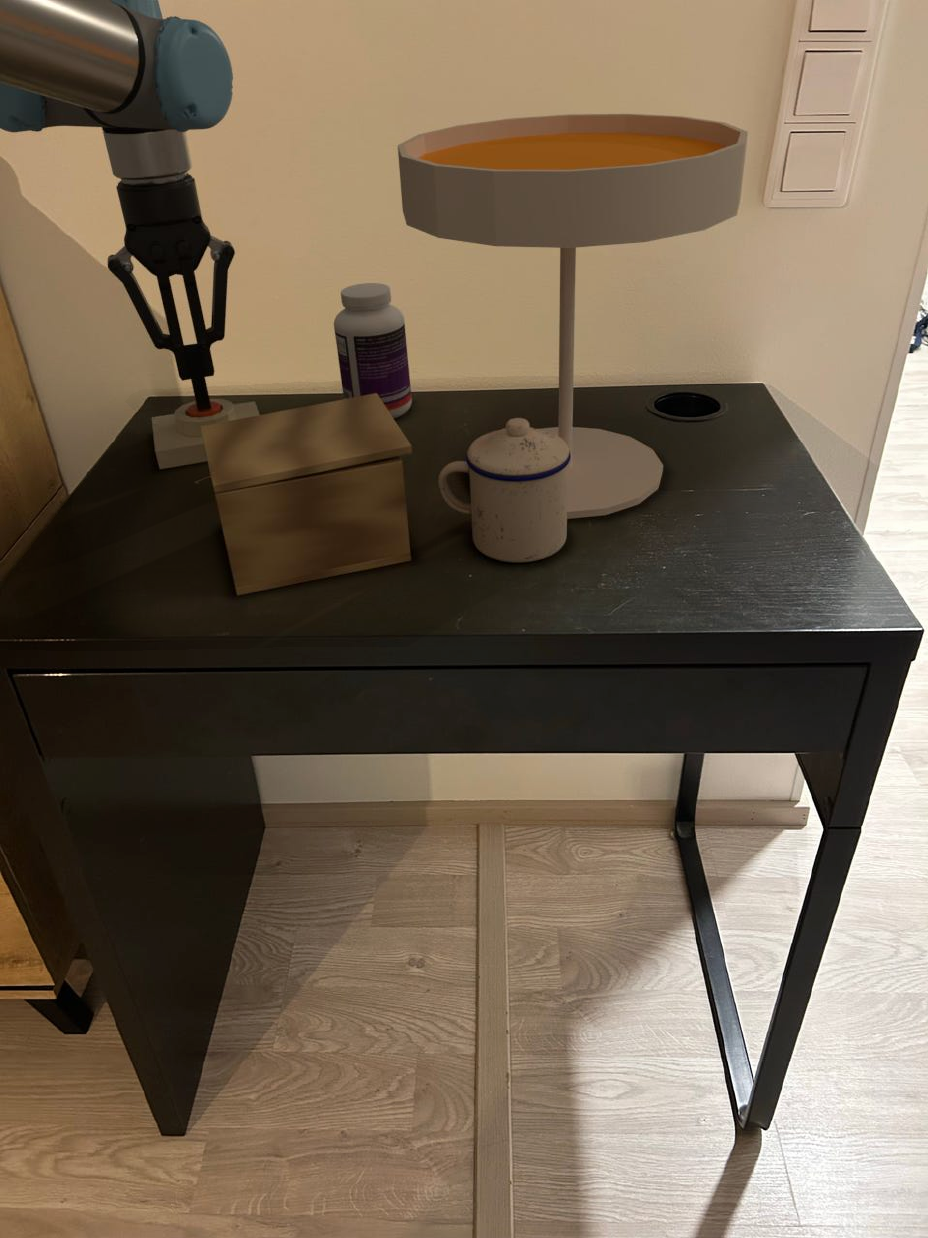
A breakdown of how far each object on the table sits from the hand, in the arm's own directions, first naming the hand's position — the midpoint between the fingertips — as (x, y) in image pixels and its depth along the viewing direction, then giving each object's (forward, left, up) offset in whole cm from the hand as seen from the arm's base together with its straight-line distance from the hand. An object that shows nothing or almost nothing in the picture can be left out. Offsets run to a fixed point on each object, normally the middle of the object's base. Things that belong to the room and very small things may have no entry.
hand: (203, 404), depth 107 cm
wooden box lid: (+7, -28, +6) cm, 29 cm away
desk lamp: (+34, -23, -5) cm, 41 cm away
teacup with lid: (+24, -33, -5) cm, 41 cm away
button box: (0, 0, -5) cm, 5 cm away
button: (0, 0, -2) cm, 2 cm away
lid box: (+7, -28, -5) cm, 29 cm away
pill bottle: (+20, +1, -5) cm, 20 cm away
